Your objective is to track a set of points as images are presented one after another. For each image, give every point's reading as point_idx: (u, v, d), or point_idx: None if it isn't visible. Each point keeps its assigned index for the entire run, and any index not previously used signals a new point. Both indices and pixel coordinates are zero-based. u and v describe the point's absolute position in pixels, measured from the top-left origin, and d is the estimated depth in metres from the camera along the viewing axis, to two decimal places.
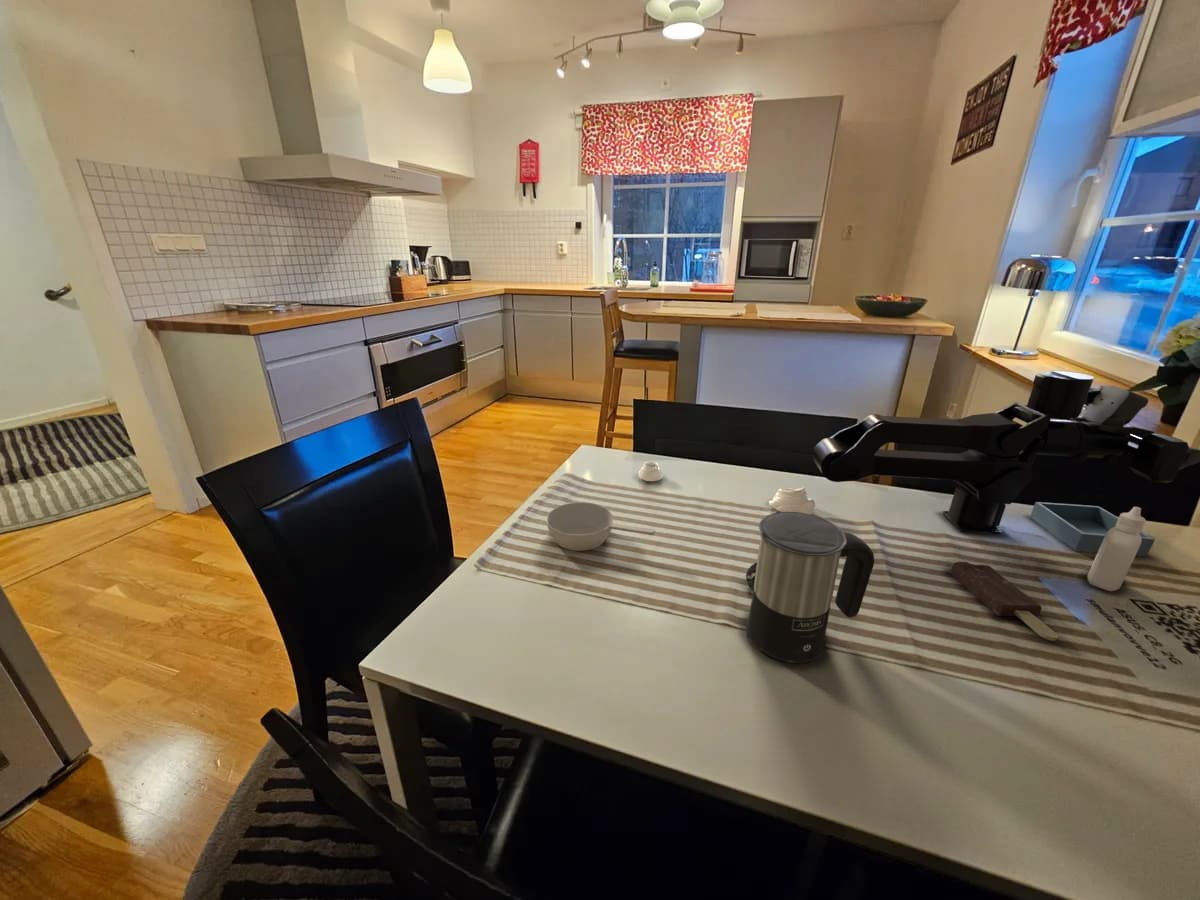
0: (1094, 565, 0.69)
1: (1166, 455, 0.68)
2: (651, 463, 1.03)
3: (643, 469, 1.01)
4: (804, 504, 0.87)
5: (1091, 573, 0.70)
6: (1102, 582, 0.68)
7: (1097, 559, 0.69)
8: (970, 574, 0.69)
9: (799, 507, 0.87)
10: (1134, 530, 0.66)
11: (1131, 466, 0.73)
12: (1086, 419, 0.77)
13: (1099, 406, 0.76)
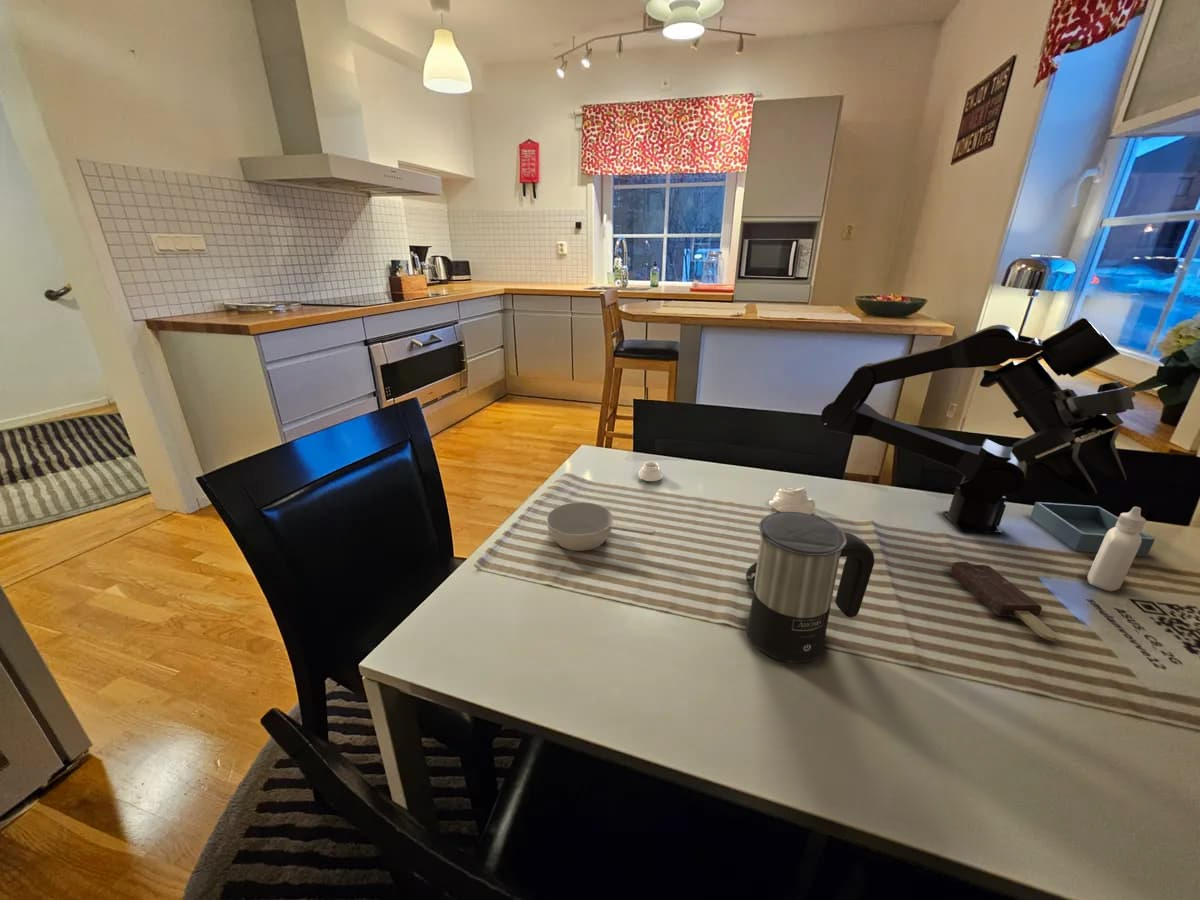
0: (1094, 565, 0.69)
1: (1038, 436, 0.68)
2: (651, 463, 1.03)
3: (643, 469, 1.01)
4: (804, 504, 0.87)
5: (1091, 573, 0.70)
6: (1102, 582, 0.68)
7: (1097, 559, 0.69)
8: (970, 574, 0.69)
9: (799, 507, 0.87)
10: (1134, 530, 0.66)
11: None
12: (1070, 396, 0.71)
13: (1092, 393, 0.69)
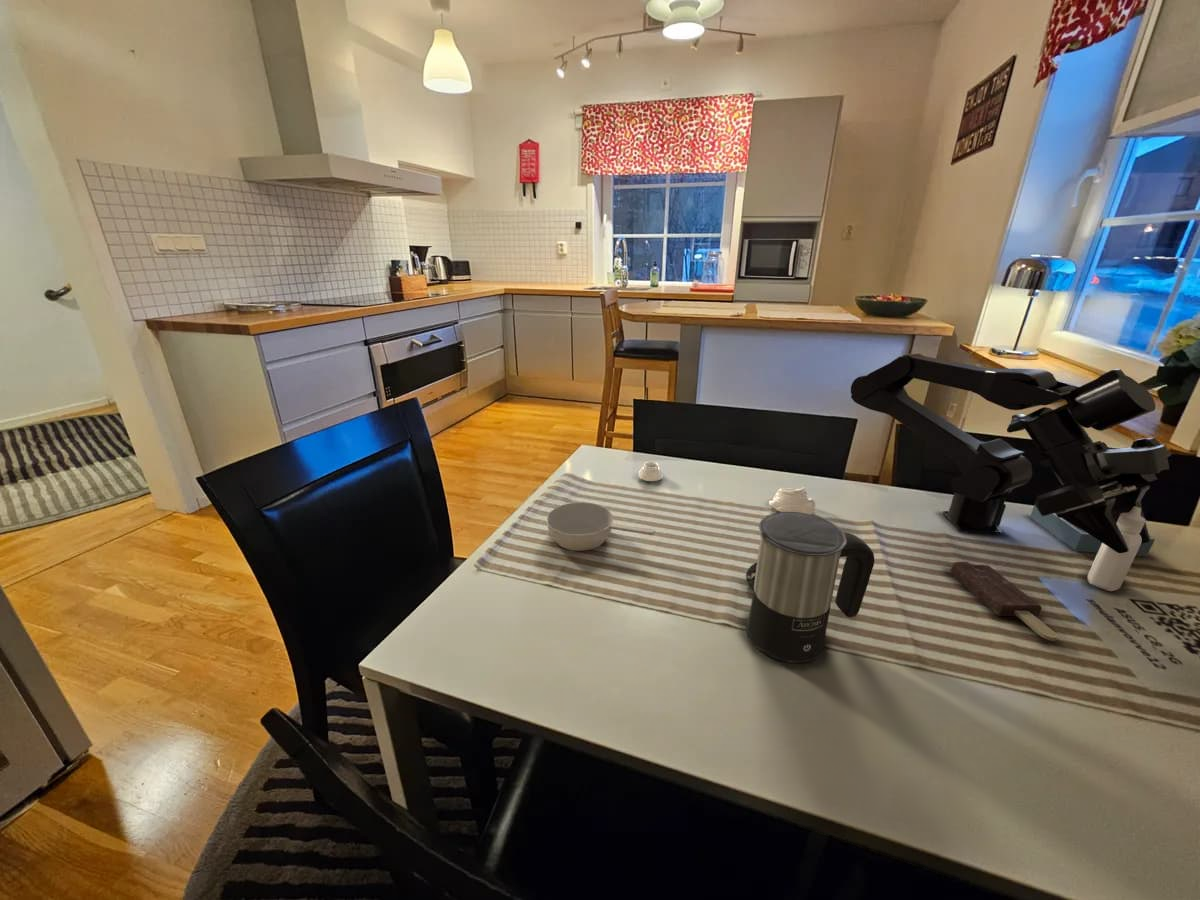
0: (1094, 565, 0.69)
1: (1064, 492, 0.65)
2: (651, 463, 1.03)
3: (643, 469, 1.01)
4: (804, 504, 0.87)
5: (1091, 573, 0.70)
6: (1102, 582, 0.68)
7: (1097, 559, 0.69)
8: (970, 574, 0.69)
9: (799, 507, 0.87)
10: (1134, 530, 0.66)
11: None
12: (1102, 450, 0.69)
13: (1124, 449, 0.67)
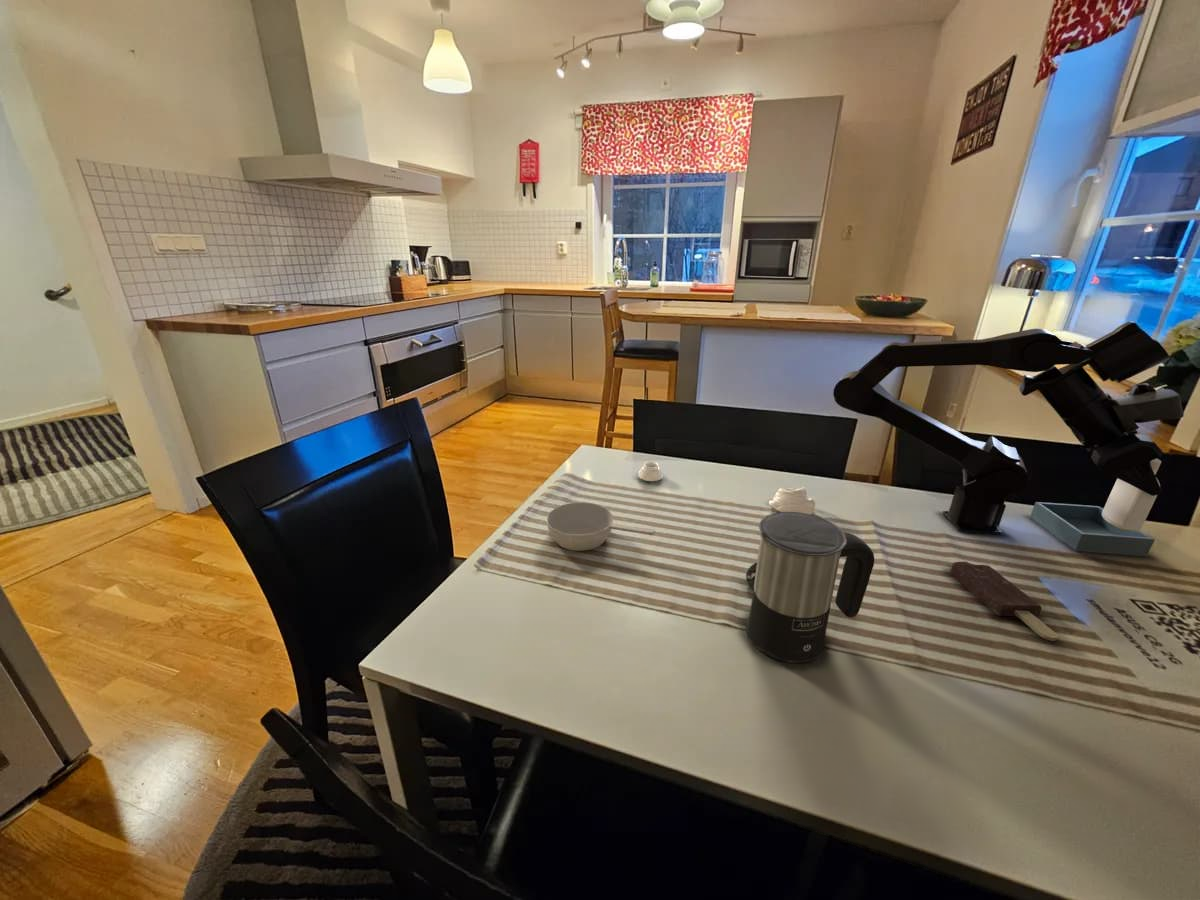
0: (1121, 510, 0.72)
1: (1135, 448, 0.64)
2: (651, 463, 1.03)
3: (643, 469, 1.01)
4: (804, 504, 0.87)
5: (1119, 518, 0.73)
6: (1133, 525, 0.72)
7: (1125, 504, 0.72)
8: (970, 574, 0.69)
9: (799, 507, 0.87)
10: (1155, 471, 0.70)
11: (1096, 449, 0.69)
12: None
13: (1138, 397, 0.70)
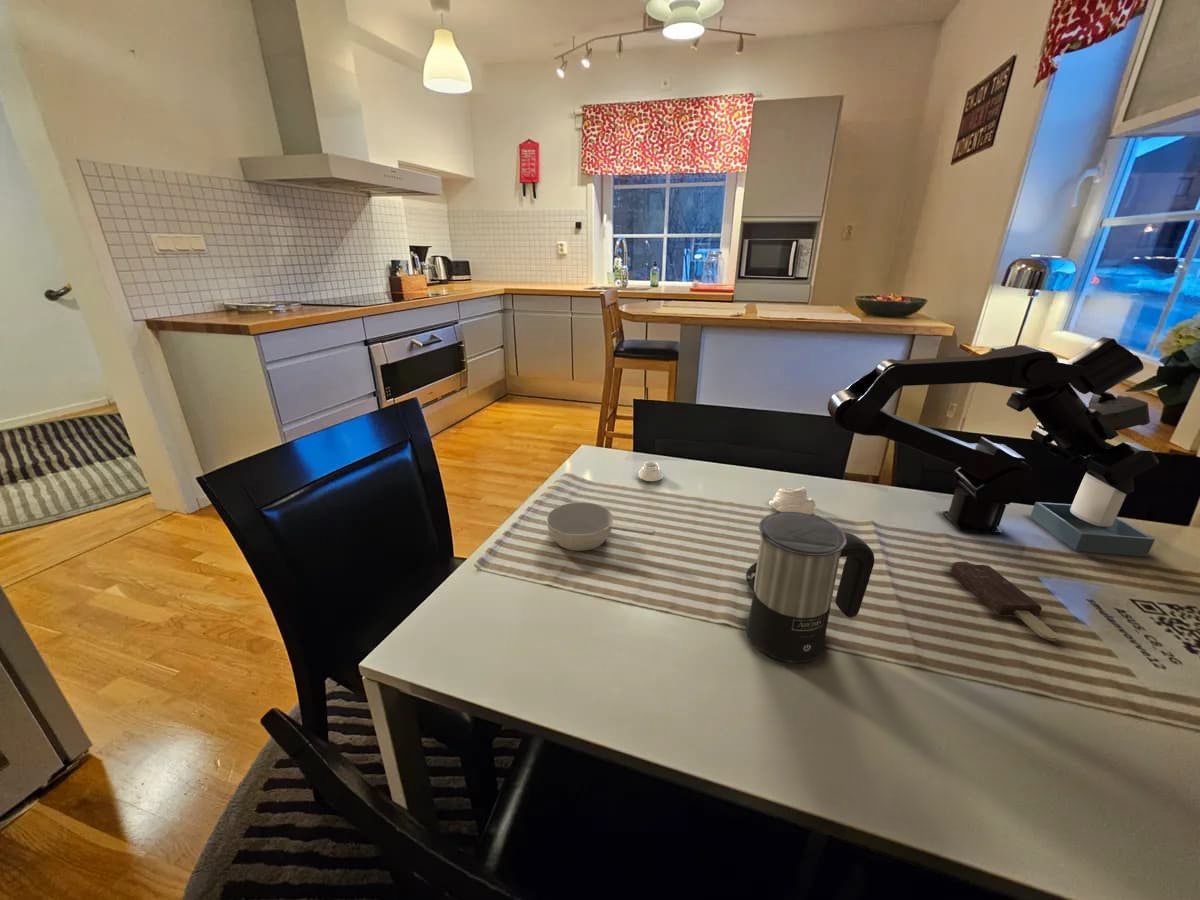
0: (1097, 509, 0.78)
1: (1137, 458, 0.68)
2: (651, 463, 1.03)
3: (643, 469, 1.01)
4: (804, 504, 0.87)
5: (1096, 517, 0.79)
6: (1109, 521, 0.78)
7: (1101, 504, 0.78)
8: (970, 574, 0.69)
9: (799, 507, 0.87)
10: None
11: (1092, 459, 0.73)
12: None
13: (1108, 406, 0.75)
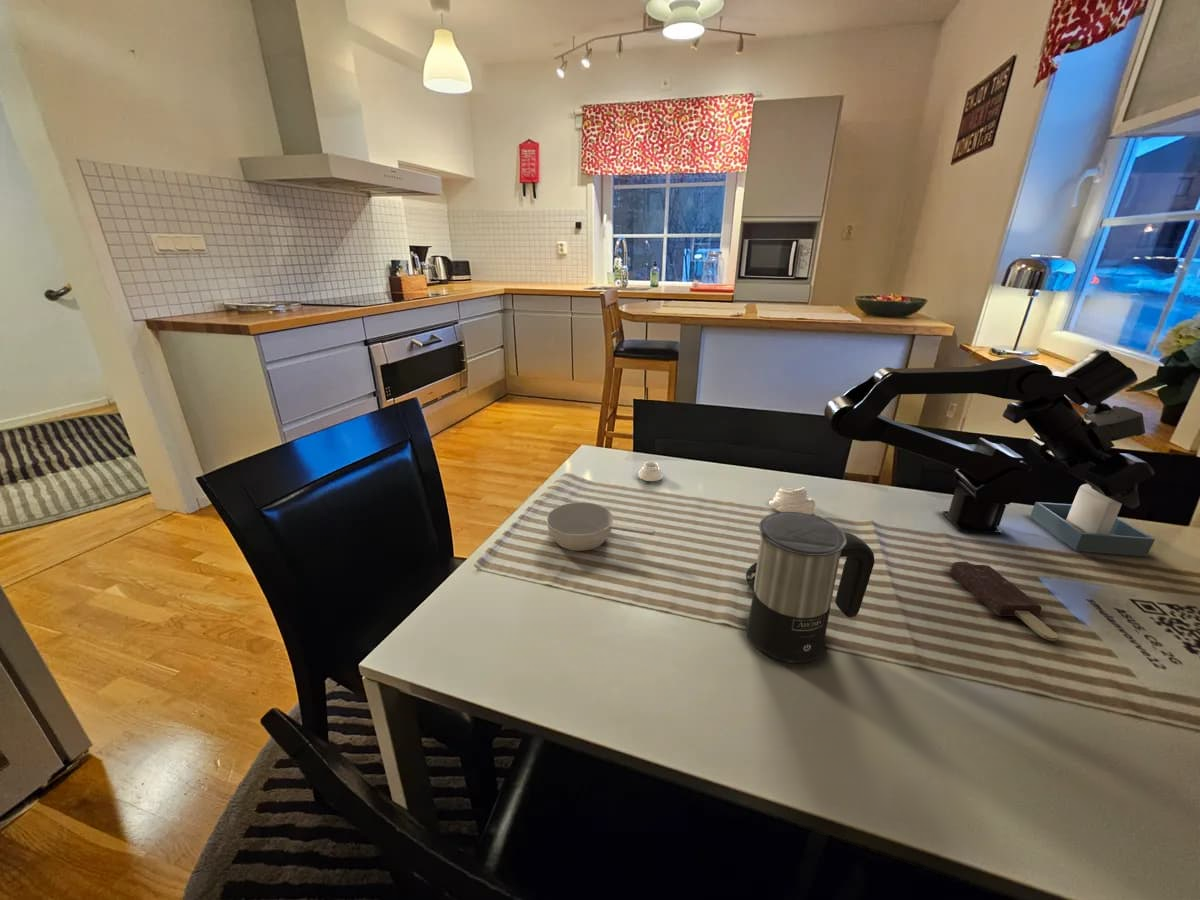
0: (1092, 523, 0.79)
1: (1133, 470, 0.69)
2: (651, 463, 1.03)
3: (643, 469, 1.01)
4: (804, 504, 0.87)
5: (1091, 530, 0.80)
6: None
7: (1095, 517, 0.79)
8: (970, 574, 0.69)
9: (799, 507, 0.87)
10: None
11: (1089, 470, 0.73)
12: None
13: (1103, 416, 0.76)
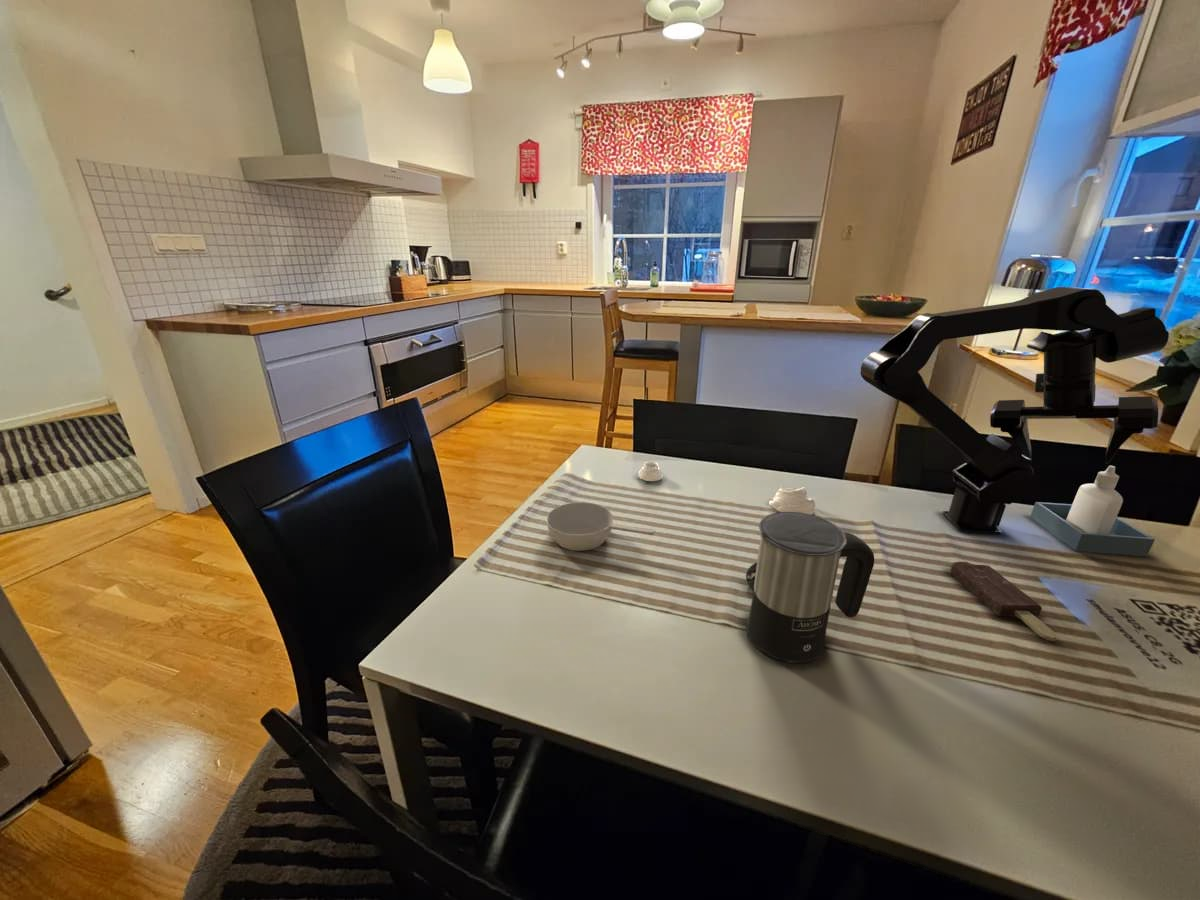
0: (1092, 523, 0.79)
1: (1156, 402, 0.71)
2: (651, 463, 1.03)
3: (643, 469, 1.01)
4: (804, 504, 0.87)
5: (1091, 530, 0.80)
6: None
7: (1095, 517, 0.79)
8: (970, 574, 0.69)
9: (799, 507, 0.87)
10: (1115, 485, 0.78)
11: (1121, 408, 0.71)
12: None
13: None
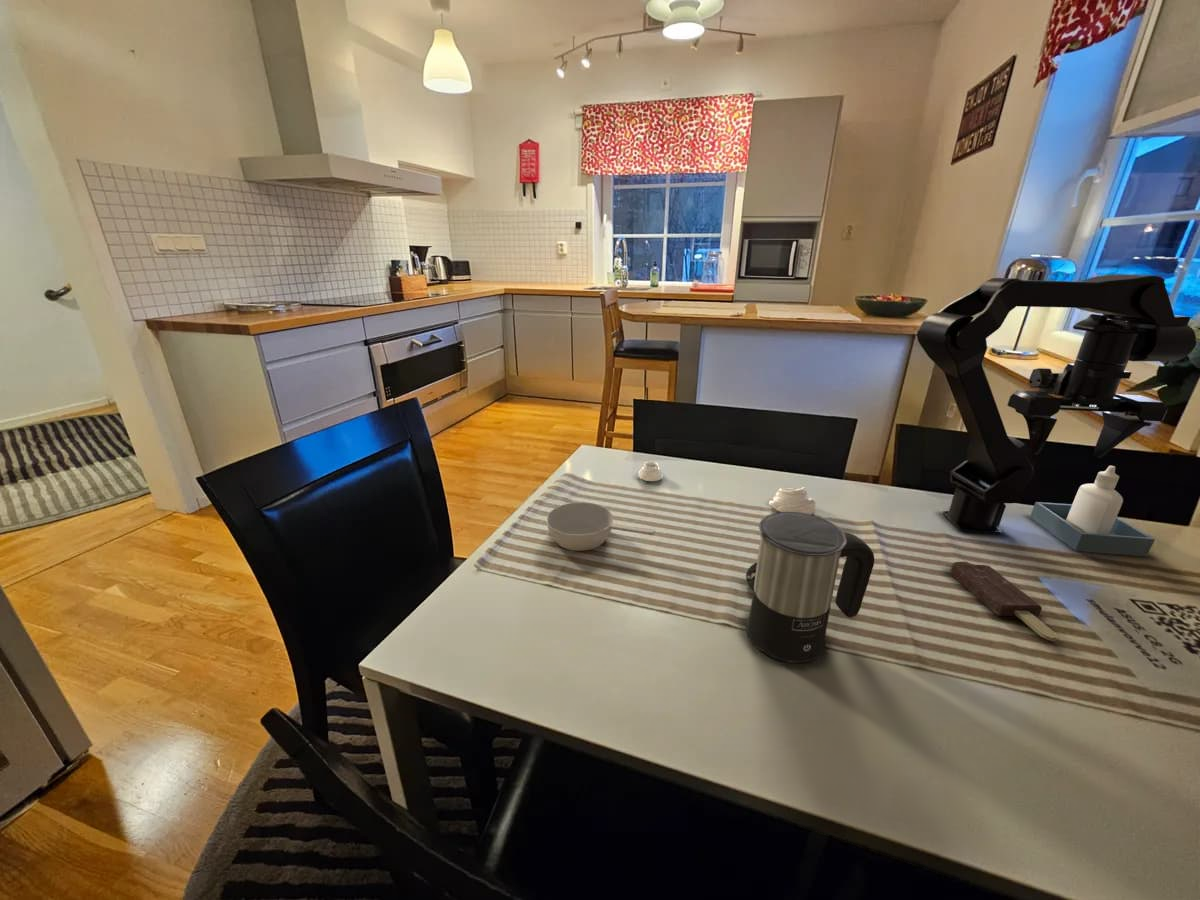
0: (1092, 523, 0.79)
1: None
2: (651, 463, 1.03)
3: (643, 469, 1.01)
4: (804, 504, 0.87)
5: (1091, 530, 0.80)
6: None
7: (1095, 517, 0.79)
8: (970, 574, 0.69)
9: (799, 507, 0.87)
10: (1115, 485, 0.78)
11: (1140, 401, 0.75)
12: None
13: None
